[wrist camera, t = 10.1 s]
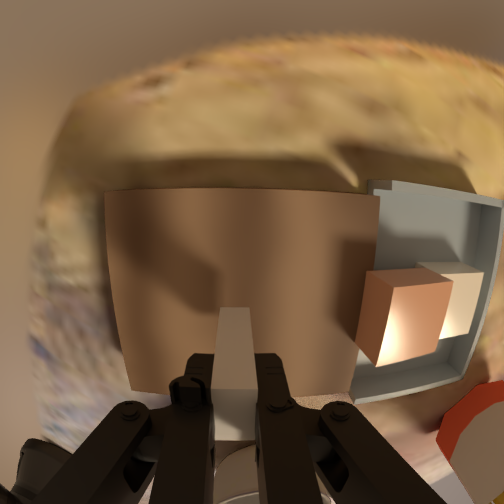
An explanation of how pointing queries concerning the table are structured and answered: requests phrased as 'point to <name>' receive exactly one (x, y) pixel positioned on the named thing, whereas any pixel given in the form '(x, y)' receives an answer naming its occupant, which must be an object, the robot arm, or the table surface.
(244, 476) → the teacup
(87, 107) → the table surface
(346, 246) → the walnut board
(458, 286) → the cream square block
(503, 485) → the french fries container
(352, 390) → the tray
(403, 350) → the orange square block
